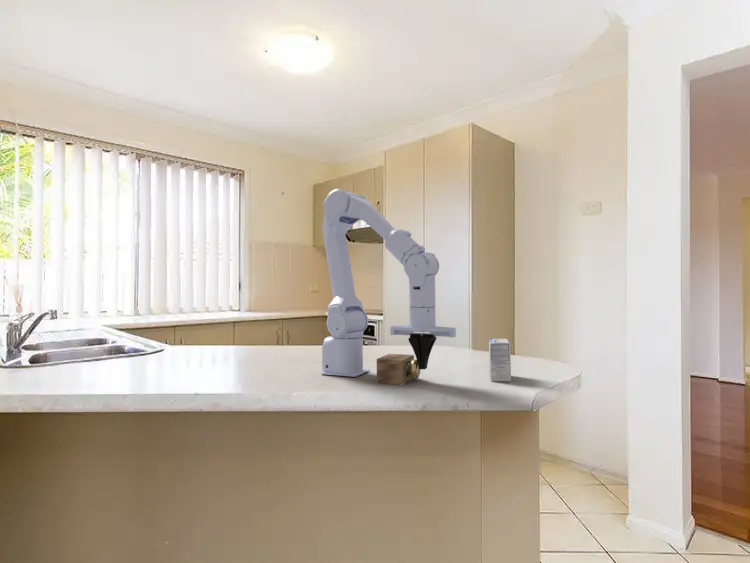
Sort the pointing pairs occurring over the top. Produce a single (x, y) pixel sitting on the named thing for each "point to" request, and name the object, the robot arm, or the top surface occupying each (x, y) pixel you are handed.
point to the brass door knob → (413, 369)
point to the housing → (393, 368)
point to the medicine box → (499, 360)
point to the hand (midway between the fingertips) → (422, 368)
